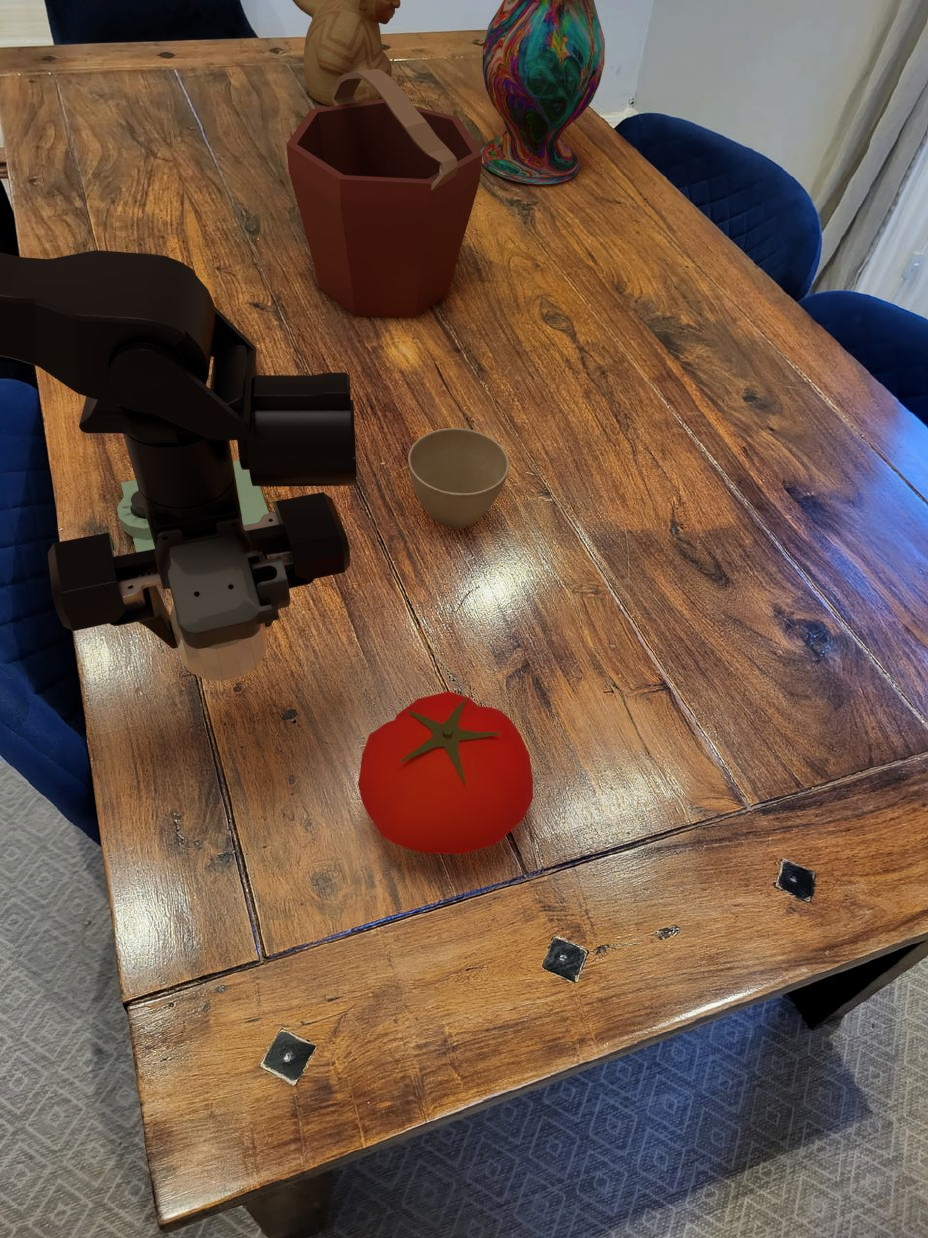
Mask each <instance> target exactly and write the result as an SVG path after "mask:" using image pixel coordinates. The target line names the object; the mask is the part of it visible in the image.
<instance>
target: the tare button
mask: <svg viewBox="0 0 928 1238" xmlns="http://www.w3.org/2000/svg"><path fill="white" fill-rule="evenodd" d="M131 503H132V506H133V510H134V513H135V515H136V516H137V517H139V518H142V519H147V518H146V514H145V511H144V507H143V504H142V500H141V496H140V493H139V490H138V491H136V492H135V493H134V494H133V495H132V497H131Z"/></svg>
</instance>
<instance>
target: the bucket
mask: <svg viewBox="0 0 928 1238" xmlns="http://www.w3.org/2000/svg"><path fill="white" fill-rule="evenodd" d="M361 80H363V81H364V82H366V83H367V84H369V85H370V86H371V87H372V88H373V89H374V90H375V91H376V92H377V93H378V94H379V95H380V98H379V99H378V100H372V101H365V102H358V103H356V101H355V98H354V94H355V91H356V89H357V87H358V85H359V83H360V81H361ZM332 101H333V104H334V106H325V107H324V106H323V107H317V108H310V109H309V111H308V112H307V114H306V115H305V116H304V118H303V119H302V121H301V123H300V124H299V125H298V126H297V128H296V129H295V131H294V132H293V134H292V135H291V137H290V138H289V139H288V141H287V143H286V157H287V170H288V174H289V178H290V181H291V185H292V189H293V192H294V196H295V200H296V203H297V207H298V211H299V215H300V218H301V223H302V226H303V230H304V232H305V237H306V240H307V243H308V244H307V245H308V247H309V251H310V254H311V258H312V262H313V265H314V269H315V273H316V277H317V281H318V284H319V288H320V291H322V292H323V293H324V294H325V295H327V296H329V297H330V298H331V299H332V300H333V301H335V302H336V303H337V304H339V305H340V306H342V307H343V308H345V309H346V310H348V312H350V313H351V314H352V315H353V316H355V317H367V318H368V317H371V318H399V319H400V318H401V319H402V318H404V319H415V318H416V317H417V316H419V315H420V314H422V313H423V312H425V311H426V310H428V309H429V308H430V307H432V306H433V305H435V304H436V303H438V302H439V301H441V300H442V299H443V298H445V297H446V296H448V294H449V292H450V287H451V284H452V280H453V278H454V273H455V270H456V266H457V263H458V260H459V256H460V253H461V249H462V246H463V242H464V239H465V235H466V231H467V228H468V225H469V221H470V217H471V214H472V211H473V207H474V203H475V199H476V196H477V193H478V189H479V186H480V182H481V177H482V176H481V175H482V165H483V164H482V153H481V150H480V148H479V147H478V145H477V143H476V142H475V140H474V139H473V137H472V136H471V134H470V132H469V131H468V129H467V128H466V126H465V124H464V123H463V122H462V120H461V119H460V117H459V116H455V115H451V114H447V113H444V112H439V111H435V110H431V109H428V108H424V107H420V106H416V105H414V103H413V102H412V101H411V100H410V98H409V97H408V95H407V94H406V93H405V91H404V90H403V89H402V87H401V86H399V84H398V83H397V82H396V81H395V80H394V79H393V78H392V76H391V77H390V76H389V75H388V74H386V73H385V72H383V71H382V70H380V69H372V70H365V71H358V72H351V73H345V74H343V75H342V76H340V77H338V79H337V81H336V84H335V86H334V89H333V92H332Z"/></svg>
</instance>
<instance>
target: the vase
mask: <svg viewBox="0 0 928 1238" xmlns="http://www.w3.org/2000/svg"><path fill="white" fill-rule="evenodd" d="M605 50H606V40H605V35H604V32H603V29H602V26H601V22H600V19H599V15H598V11H597V7H596V2H595V0H502V2H501V4H500V5H499V7H498V9H497V10H496V11H495V14H494V16H493V17H492V18H491V20H490V22H489V23H488V26H487V30H486V35H485V38H484V42H483V47H482V74H483V80H484V87H485V90H486V92H487V94H488V97H489V99H490V102H491V104H492V106H493V107H494V109H495V110H496V112H497V113H498V114H499V116H500V118H501V119H502V121H503V123H504V127H505V129H506V130H505V131H504V132H503V133H502V134H501V135H499V136H497V137H495V138H493V139H491V140H490V141H488V142H487V143H486V144H485V145H484V146H483V147H482V148H481V150H480V151H481V153H482V165H483V166H484V167H485V168H486V169H487V170H488V171H490V172H491V173H493V174H495V175H497V176H498V177H502V178H504V179H507V180H510V181H514V182H518V183H522V184H523V183H524V184H531V185H551V184H558V183H562V182H566V181H568V180H570V179H572V178H574V177H575V176H576V175H578V174H579V172H580V170H581V167H582V166H581V165H582V164H581V161H580V159H579V158H578V156H577V154H576V153H575V151H574V150H573V149H572V148H571V147H570V146H568V145H567V144H566V143H565V142H564V140H563V138H562V135H563V133H564V132H565V131H566V130H567V128H568V127H570V125H572V124H573V123H574V122H575V121H576V120H578V119H579V118H580V117H581V116H582V114H584V112H585V111H586V109H587V108H588V107H589V106H590V104H591V103H592V102H593V100H594V97H595V96H596V93H597V90H598V89H599V86H600V83H601V78H602V75H603V71H604V69H605V68H604V67H605V56H606V55H605V54H606V51H605Z"/></svg>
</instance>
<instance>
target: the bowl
mask: <svg viewBox="0 0 928 1238" xmlns="http://www.w3.org/2000/svg"><path fill="white" fill-rule="evenodd" d="M169 616H170V620H171V625H172V629H173V633H174V636H175V639H176V643H177V647H178V648H177V650H178V653H179V657H180V661H181V662H182V664H183V666H185V668H186V669H187V670H188V671H189V672H190V673H191V674H192V675H195V676H197V677H199V678H202V679H204V680H206V681H215V682H227V681H231V680H234V679H238V678H242V677H243V676H245V675H247V674H248V673H250V672H252V671H253V670H255V669H256V668H257V667H258V666H259V664H260V663H261V661H262V660H263V659H265V656H266V652H267V650H268V649H267V648H268V644H269V640H268V634H267V627H266V626H265V623H263V624H261V628H260V630H259V632H258V633H257V634H256V635H254V636H253V637H250V638H247V639H238V640H233V641H229V642H225V643H220V644H216V645H212V646H210V647H208V648H203V649H195V648H192V647H190V646H188V645H187V644H186V642H185V641H184V639H183V636H182V633H181V630H180V627H179V623H178V620H177V616H176V611H175V607H174V604H173V605H172V608H171V611H170V614H169Z"/></svg>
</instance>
